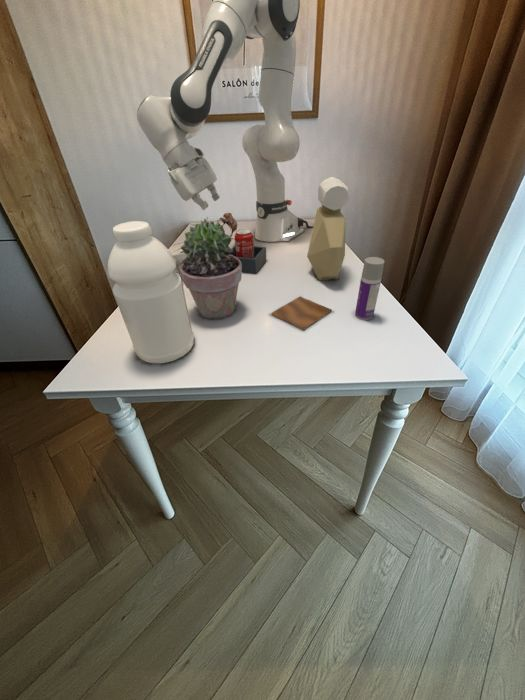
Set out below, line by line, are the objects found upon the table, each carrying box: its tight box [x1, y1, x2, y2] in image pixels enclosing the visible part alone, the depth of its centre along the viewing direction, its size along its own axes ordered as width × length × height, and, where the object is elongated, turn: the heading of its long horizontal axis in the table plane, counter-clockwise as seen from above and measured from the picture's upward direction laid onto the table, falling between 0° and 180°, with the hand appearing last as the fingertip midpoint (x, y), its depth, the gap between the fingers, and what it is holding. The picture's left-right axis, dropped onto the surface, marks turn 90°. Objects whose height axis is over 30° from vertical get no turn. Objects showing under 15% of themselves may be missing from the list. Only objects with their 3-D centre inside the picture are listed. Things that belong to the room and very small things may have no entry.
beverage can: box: [233, 228, 255, 259], centre depth 106 cm, size 6×6×12 cm
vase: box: [306, 176, 350, 281], centre depth 94 cm, size 12×24×28 cm, turn 1°
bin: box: [229, 245, 267, 275], centre depth 109 cm, size 12×12×5 cm
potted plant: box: [171, 212, 245, 320], centre depth 79 cm, size 18×20×25 cm
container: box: [354, 256, 386, 321], centre depth 77 cm, size 5×5×15 cm
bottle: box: [106, 220, 195, 364], centre depth 66 cm, size 14×14×28 cm
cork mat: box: [271, 296, 332, 331], centre depth 84 cm, size 12×11×1 cm
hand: (212, 203), depth 97 cm, fingers open, 8 cm apart
